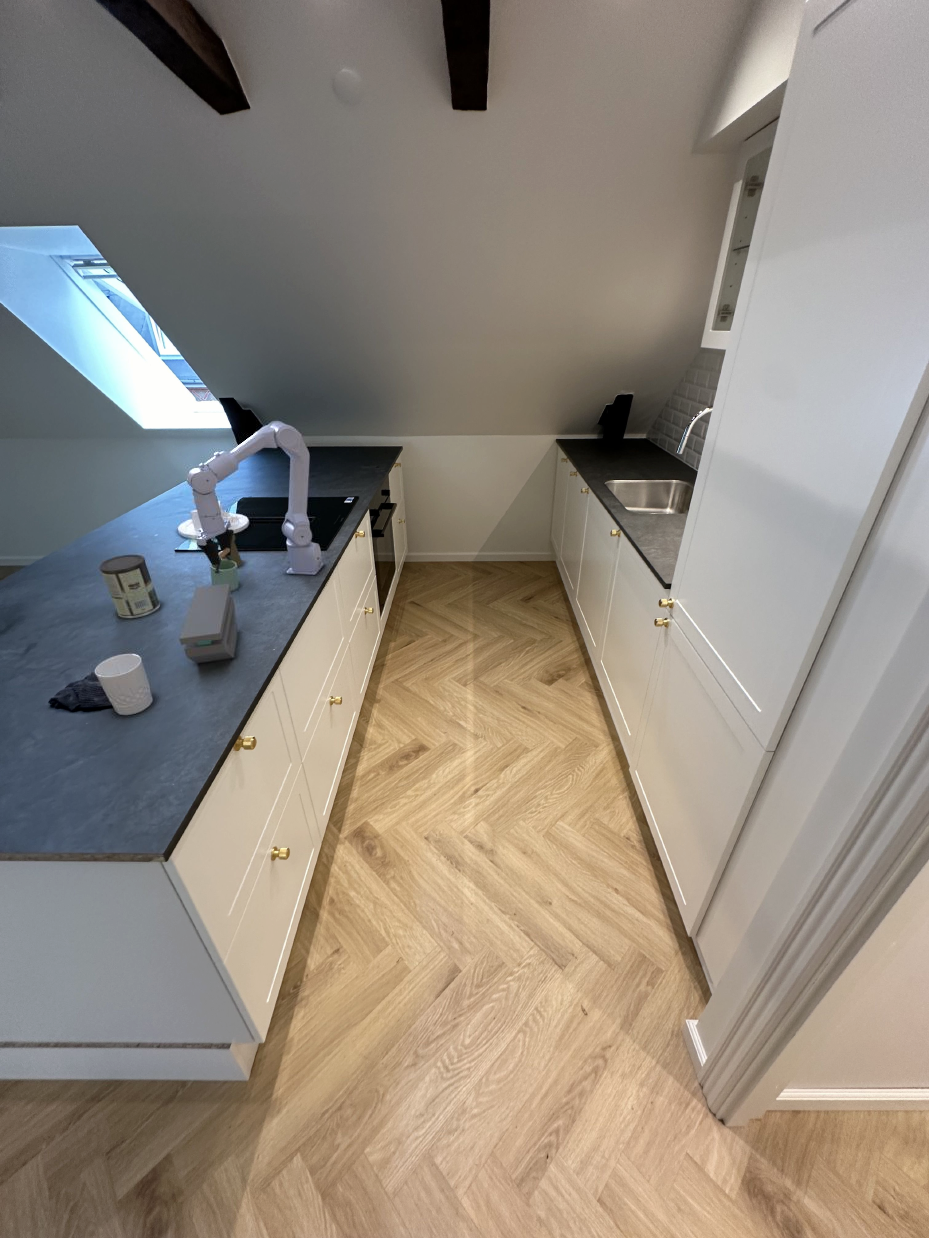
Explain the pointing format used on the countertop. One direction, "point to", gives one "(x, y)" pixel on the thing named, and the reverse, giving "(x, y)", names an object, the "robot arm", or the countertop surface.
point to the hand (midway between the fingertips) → (221, 559)
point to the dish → (193, 526)
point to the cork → (234, 553)
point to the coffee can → (130, 585)
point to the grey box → (210, 625)
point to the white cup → (125, 683)
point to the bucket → (225, 571)
